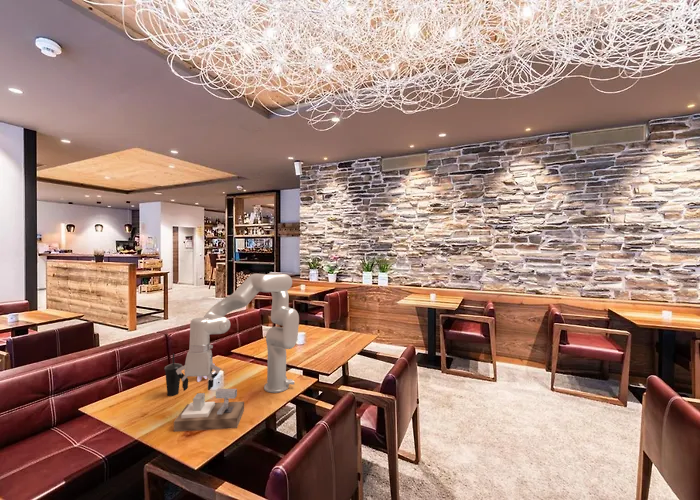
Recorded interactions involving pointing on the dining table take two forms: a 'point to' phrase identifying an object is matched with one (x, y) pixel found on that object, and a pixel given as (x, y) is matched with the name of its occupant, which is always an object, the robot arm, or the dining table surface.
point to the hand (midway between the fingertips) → (197, 389)
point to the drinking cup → (172, 378)
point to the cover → (198, 407)
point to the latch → (225, 398)
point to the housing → (212, 419)
